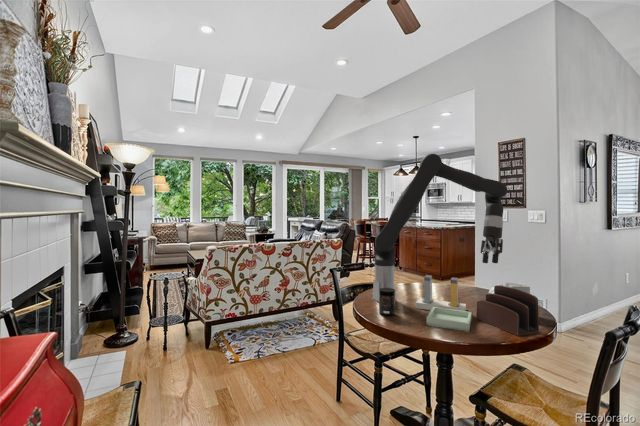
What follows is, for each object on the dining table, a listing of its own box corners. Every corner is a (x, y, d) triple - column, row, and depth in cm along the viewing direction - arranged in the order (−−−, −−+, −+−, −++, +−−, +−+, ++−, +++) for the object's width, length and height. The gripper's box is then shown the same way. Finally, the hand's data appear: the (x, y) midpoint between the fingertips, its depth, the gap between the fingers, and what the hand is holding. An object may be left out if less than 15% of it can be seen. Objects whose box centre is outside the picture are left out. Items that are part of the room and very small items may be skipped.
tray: (469, 331, 122) (469, 323, 122) (426, 325, 129) (426, 317, 129) (471, 319, 135) (471, 311, 135) (432, 313, 142) (433, 306, 142)
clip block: (416, 308, 150) (416, 300, 150) (419, 303, 157) (419, 296, 157) (464, 314, 141) (464, 307, 141) (466, 309, 148) (466, 302, 147)
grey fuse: (424, 308, 150) (424, 277, 149) (426, 305, 154) (426, 275, 154) (429, 309, 148) (430, 277, 148) (431, 306, 153) (431, 275, 153)
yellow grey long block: (450, 311, 145) (450, 279, 144) (451, 308, 149) (451, 277, 149) (456, 312, 143) (456, 280, 143) (457, 309, 148) (457, 278, 147)
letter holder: (495, 316, 139) (495, 282, 139) (539, 333, 121) (540, 294, 120) (475, 318, 136) (476, 284, 136) (517, 337, 118) (518, 297, 117)
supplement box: (530, 317, 137) (530, 287, 137) (510, 316, 138) (510, 286, 138) (523, 312, 144) (523, 282, 144) (504, 311, 146) (504, 282, 145)
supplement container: (394, 311, 145) (394, 288, 145) (395, 317, 138) (395, 292, 138) (378, 311, 146) (378, 287, 146) (379, 316, 139) (379, 291, 139)
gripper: (477, 227, 157) (473, 261, 154) (492, 223, 143) (489, 261, 140) (493, 229, 157) (490, 264, 154) (510, 226, 143) (507, 264, 140)
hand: (489, 263), depth 147 cm, fingers open, 8 cm apart
